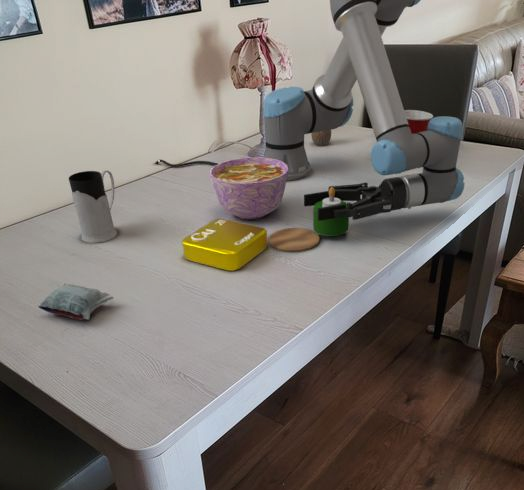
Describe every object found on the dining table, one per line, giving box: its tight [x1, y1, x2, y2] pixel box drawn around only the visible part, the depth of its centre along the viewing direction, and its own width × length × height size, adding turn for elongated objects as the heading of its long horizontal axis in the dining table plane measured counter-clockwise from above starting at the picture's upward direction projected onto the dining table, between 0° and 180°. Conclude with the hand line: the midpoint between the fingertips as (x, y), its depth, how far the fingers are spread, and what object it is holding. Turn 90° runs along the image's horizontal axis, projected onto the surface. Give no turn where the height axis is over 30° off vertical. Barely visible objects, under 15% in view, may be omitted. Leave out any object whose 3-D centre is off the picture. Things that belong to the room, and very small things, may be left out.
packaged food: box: [37, 283, 114, 321], centre depth 105 cm, size 9×12×5 cm
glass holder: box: [68, 170, 118, 244], centre depth 133 cm, size 9×14×15 cm, turn 158°
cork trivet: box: [268, 227, 320, 253], centre depth 128 cm, size 12×12×1 cm
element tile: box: [181, 218, 268, 272], centre depth 123 cm, size 15×15×5 cm
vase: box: [310, 130, 332, 147], centre depth 187 cm, size 7×7×9 cm
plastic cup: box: [404, 109, 434, 134], centre depth 174 cm, size 11×11×12 cm
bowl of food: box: [209, 156, 289, 220], centre depth 139 cm, size 20×20×12 cm
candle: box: [312, 187, 350, 237], centre depth 126 cm, size 8×8×10 cm
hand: (311, 207), depth 124 cm, fingers closed on candle, 8 cm apart
